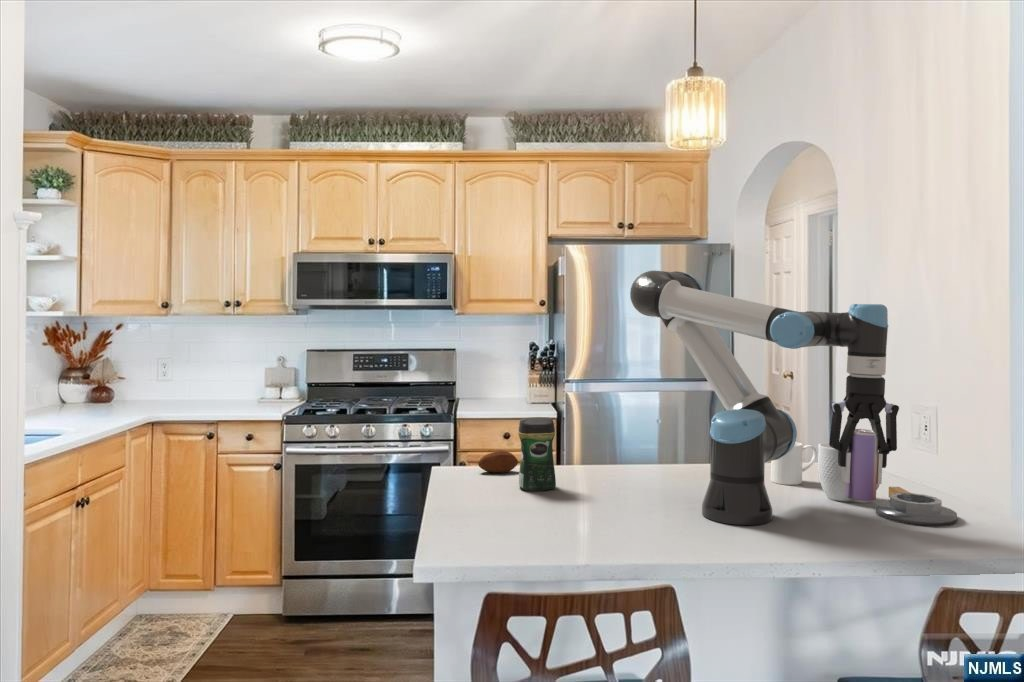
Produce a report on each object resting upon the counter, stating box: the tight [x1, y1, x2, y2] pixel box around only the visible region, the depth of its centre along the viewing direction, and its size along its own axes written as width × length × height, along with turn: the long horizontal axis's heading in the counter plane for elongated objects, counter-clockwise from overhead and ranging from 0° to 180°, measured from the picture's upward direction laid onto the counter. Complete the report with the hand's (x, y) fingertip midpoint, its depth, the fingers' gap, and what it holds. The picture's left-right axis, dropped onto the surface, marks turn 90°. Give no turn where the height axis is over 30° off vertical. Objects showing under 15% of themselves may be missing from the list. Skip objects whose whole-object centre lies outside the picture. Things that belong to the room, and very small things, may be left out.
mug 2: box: [817, 441, 881, 502], centre depth 178 cm, size 15×11×13 cm
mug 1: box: [770, 441, 818, 486], centre depth 197 cm, size 12×8×10 cm, turn 96°
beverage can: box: [846, 428, 879, 504], centre depth 158 cm, size 6×6×15 cm
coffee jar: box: [517, 416, 557, 492], centre depth 190 cm, size 10×8×19 cm
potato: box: [477, 449, 519, 474], centre depth 209 cm, size 6×12×6 cm, turn 101°
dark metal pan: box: [875, 486, 958, 528], centre depth 165 cm, size 16×19×4 cm
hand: (861, 481), depth 158 cm, fingers closed on beverage can, 6 cm apart
